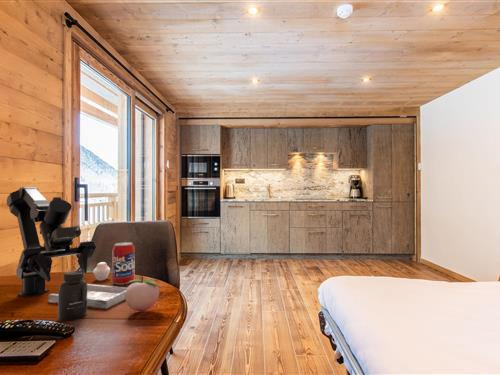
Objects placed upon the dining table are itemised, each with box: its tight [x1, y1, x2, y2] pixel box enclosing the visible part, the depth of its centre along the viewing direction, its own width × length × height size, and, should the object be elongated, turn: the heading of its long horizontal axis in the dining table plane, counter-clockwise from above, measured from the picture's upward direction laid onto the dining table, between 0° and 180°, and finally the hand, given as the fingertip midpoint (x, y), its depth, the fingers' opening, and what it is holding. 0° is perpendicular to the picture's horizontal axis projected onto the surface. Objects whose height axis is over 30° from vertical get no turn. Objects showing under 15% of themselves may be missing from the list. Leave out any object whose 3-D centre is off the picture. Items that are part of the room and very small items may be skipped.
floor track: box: [48, 283, 128, 310], centre depth 95 cm, size 22×12×2 cm, turn 74°
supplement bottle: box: [57, 270, 88, 322], centre depth 81 cm, size 7×7×12 cm
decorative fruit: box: [125, 276, 160, 313], centre depth 83 cm, size 9×8×10 cm
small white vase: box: [92, 261, 111, 281], centre depth 117 cm, size 6×6×7 cm
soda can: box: [111, 242, 136, 286], centre depth 112 cm, size 8×8×15 cm
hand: (68, 276), depth 83 cm, fingers open, 9 cm apart
